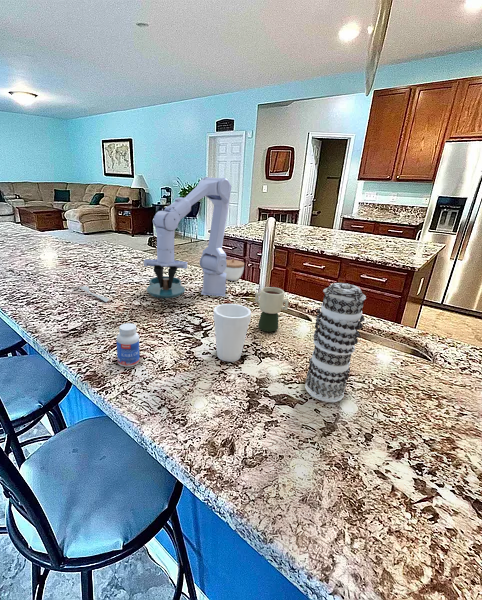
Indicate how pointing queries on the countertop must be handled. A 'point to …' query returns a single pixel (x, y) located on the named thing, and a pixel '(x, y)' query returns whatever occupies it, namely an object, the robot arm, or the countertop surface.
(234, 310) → the foam cup
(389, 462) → the countertop surface
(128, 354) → the pill bottle
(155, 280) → the bowl
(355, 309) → the leaning tower model
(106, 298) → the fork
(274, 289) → the character mug
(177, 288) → the lid
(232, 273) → the trinket box
